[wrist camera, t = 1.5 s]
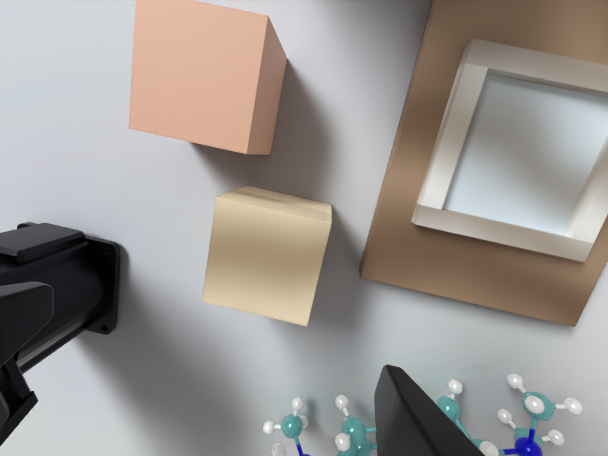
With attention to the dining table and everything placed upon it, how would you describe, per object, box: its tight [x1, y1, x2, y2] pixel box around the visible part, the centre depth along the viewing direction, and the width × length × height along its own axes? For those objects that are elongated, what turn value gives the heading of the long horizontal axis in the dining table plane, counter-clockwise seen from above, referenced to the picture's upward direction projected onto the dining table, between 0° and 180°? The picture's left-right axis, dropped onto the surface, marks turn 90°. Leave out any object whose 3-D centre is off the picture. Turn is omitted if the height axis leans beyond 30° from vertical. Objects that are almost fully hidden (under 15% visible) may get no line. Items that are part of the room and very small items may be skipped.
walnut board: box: [359, 0, 608, 327], centre depth 15 cm, size 16×12×2 cm
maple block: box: [202, 186, 332, 326], centre depth 16 cm, size 5×5×5 cm
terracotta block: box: [129, 0, 287, 155], centre depth 14 cm, size 5×5×5 cm
